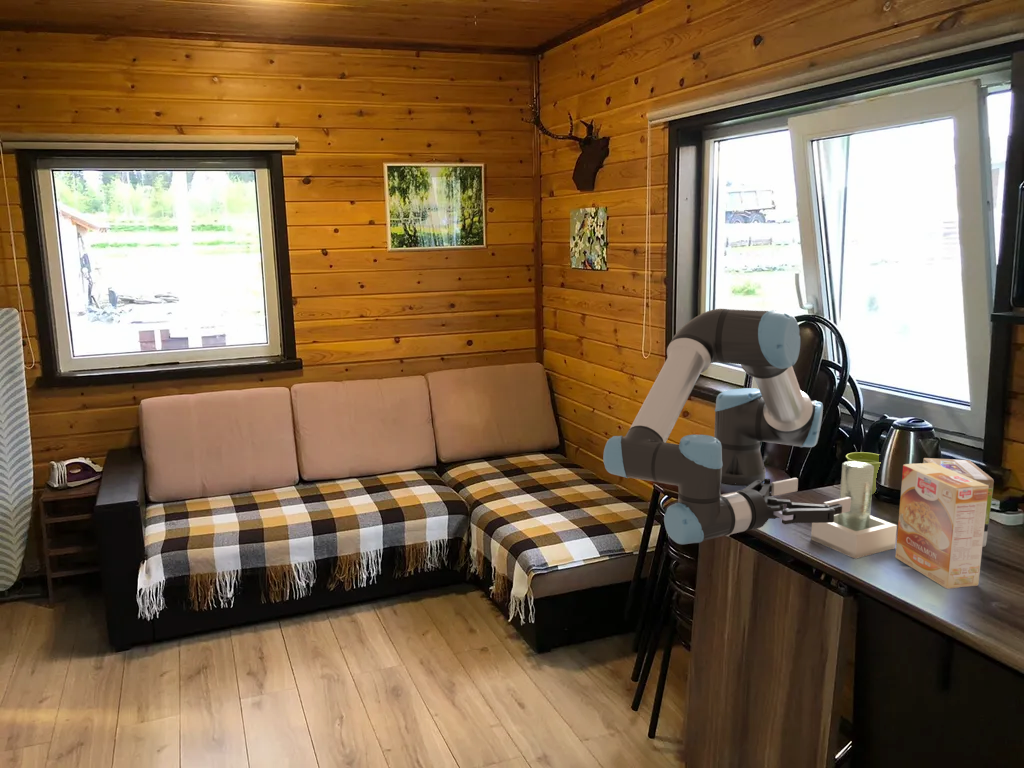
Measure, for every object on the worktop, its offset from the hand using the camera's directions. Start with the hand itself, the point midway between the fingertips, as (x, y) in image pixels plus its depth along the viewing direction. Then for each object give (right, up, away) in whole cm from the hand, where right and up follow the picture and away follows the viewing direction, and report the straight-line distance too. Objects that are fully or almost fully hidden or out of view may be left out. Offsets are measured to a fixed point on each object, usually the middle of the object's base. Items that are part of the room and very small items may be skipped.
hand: (822, 493), depth 166 cm
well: (+9, -11, +7) cm, 16 cm away
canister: (+9, -10, +7) cm, 15 cm away
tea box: (+32, -10, +12) cm, 36 cm away
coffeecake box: (+19, -14, -7) cm, 25 cm away
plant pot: (+25, -5, +40) cm, 48 cm away
